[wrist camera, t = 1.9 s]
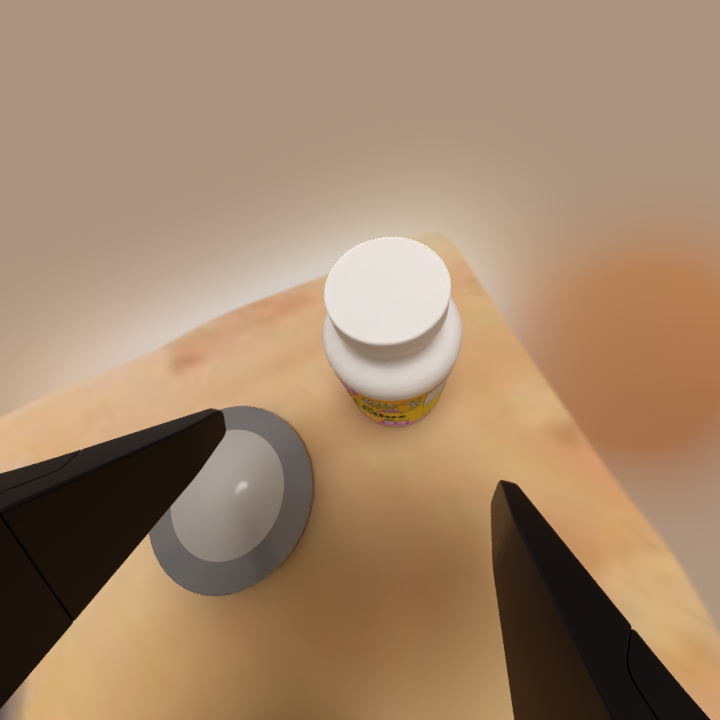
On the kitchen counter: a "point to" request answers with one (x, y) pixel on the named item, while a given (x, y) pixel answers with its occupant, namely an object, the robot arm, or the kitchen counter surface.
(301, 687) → the kitchen counter surface
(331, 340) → the supplement bottle
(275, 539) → the gray plate
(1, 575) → the robot arm
